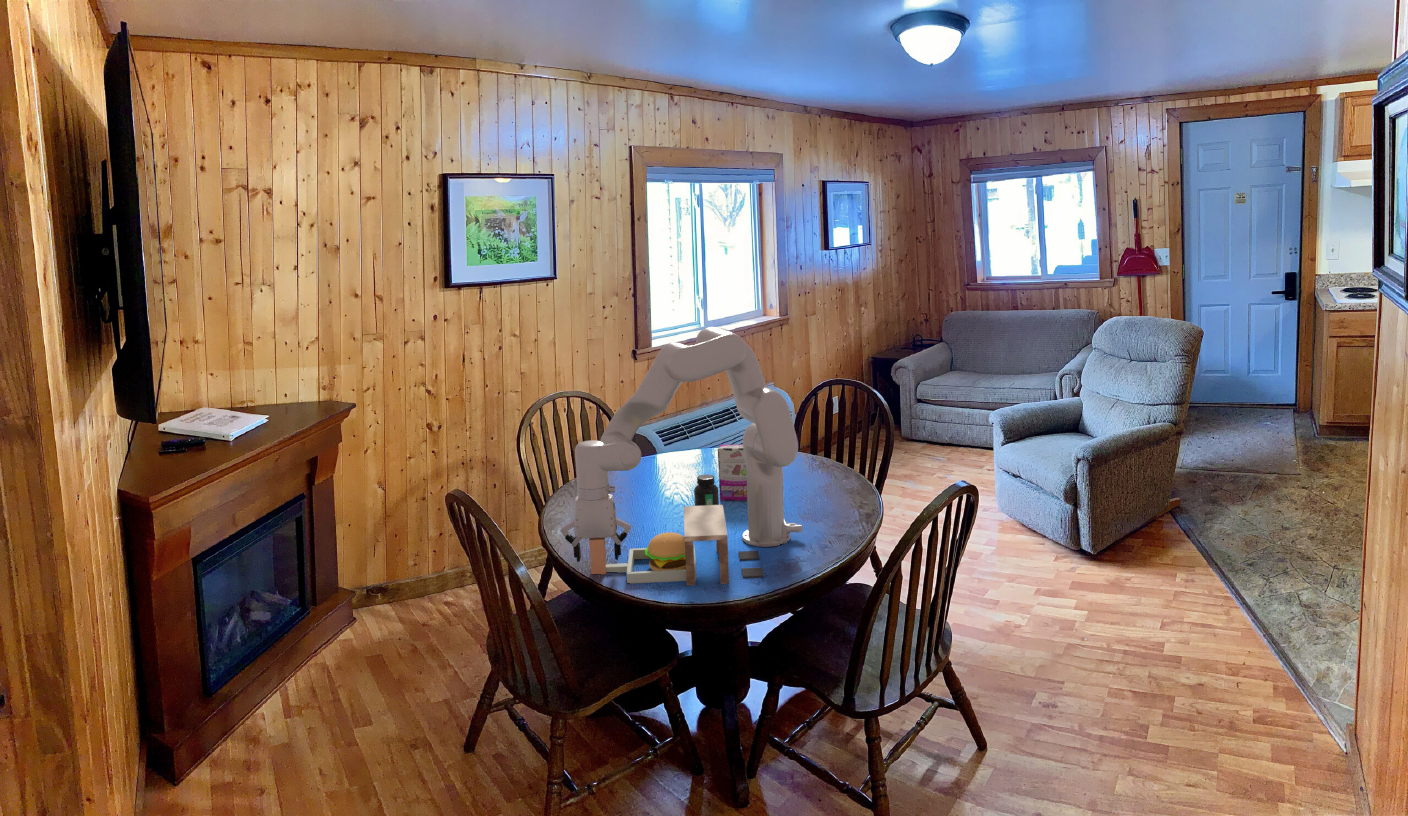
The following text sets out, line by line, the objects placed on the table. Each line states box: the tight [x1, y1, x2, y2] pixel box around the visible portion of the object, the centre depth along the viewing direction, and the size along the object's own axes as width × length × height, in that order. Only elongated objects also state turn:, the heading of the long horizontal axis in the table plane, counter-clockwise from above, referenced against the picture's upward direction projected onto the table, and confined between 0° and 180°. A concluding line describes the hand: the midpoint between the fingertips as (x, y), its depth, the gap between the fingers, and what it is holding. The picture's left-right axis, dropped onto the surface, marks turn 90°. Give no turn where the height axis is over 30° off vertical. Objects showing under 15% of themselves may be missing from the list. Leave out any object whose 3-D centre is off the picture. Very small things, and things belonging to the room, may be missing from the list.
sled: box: [588, 538, 697, 584], centre depth 230 cm, size 26×16×9 cm, turn 92°
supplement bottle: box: [693, 474, 720, 506], centre depth 265 cm, size 7×7×12 cm
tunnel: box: [683, 504, 730, 586], centre depth 230 cm, size 10×22×12 cm, turn 2°
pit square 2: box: [741, 566, 765, 579], centre depth 227 cm, size 5×5×1 cm
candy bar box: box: [717, 444, 747, 502], centre depth 280 cm, size 11×5×16 cm, turn 81°
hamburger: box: [645, 531, 686, 571], centre depth 231 cm, size 12×12×9 cm
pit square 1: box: [738, 550, 761, 561], centre depth 237 cm, size 5×5×1 cm
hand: (597, 558), depth 230 cm, fingers open, 9 cm apart
